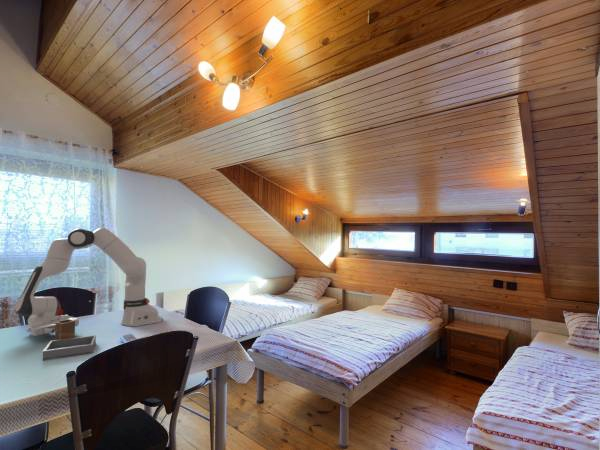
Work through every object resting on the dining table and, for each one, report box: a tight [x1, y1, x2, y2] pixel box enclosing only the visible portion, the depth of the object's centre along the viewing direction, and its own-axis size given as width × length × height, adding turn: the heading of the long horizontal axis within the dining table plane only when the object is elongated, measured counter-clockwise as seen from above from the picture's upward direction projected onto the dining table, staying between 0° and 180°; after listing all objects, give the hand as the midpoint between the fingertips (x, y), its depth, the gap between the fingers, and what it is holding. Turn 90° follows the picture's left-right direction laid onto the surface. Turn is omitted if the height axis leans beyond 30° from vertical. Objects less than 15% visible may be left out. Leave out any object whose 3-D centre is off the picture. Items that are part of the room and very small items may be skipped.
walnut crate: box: [54, 319, 76, 340], centre depth 160 cm, size 6×6×10 cm
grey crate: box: [42, 334, 97, 361], centre depth 147 cm, size 18×14×4 cm
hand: (63, 328), depth 161 cm, fingers open, 8 cm apart
